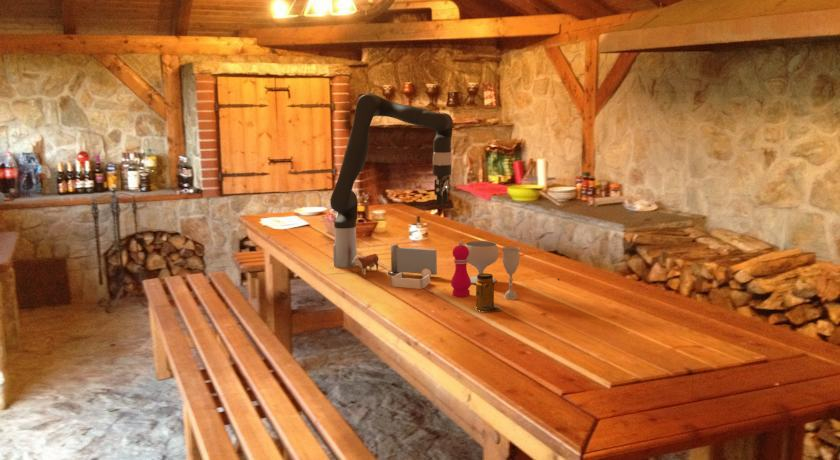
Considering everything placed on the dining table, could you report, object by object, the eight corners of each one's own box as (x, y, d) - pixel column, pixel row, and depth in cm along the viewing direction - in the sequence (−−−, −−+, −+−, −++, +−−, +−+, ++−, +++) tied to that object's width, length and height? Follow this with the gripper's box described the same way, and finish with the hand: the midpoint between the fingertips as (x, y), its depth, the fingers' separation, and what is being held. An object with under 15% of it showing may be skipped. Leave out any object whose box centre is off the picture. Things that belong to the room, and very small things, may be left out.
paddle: (390, 271, 293) (389, 245, 291) (393, 270, 296) (392, 244, 294) (434, 275, 286) (434, 248, 284) (437, 273, 289) (437, 246, 287)
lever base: (385, 274, 292) (385, 273, 292) (391, 271, 298) (391, 269, 298) (399, 276, 290) (399, 274, 290) (404, 272, 296) (404, 270, 296)
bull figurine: (351, 275, 293) (350, 255, 292) (374, 269, 303) (374, 250, 301) (358, 276, 290) (357, 257, 289) (382, 270, 300) (381, 251, 298)
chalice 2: (499, 295, 259) (499, 246, 256) (517, 294, 259) (518, 246, 256) (503, 300, 251) (503, 250, 248) (522, 300, 252) (522, 250, 249)
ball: (419, 279, 284) (419, 269, 284) (423, 276, 288) (423, 267, 287) (429, 279, 283) (429, 270, 282) (432, 277, 287) (432, 267, 286)
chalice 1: (502, 278, 284) (502, 241, 281) (494, 286, 271) (494, 248, 268) (468, 275, 289) (468, 239, 286) (458, 284, 276) (458, 246, 273)
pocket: (391, 286, 274) (391, 277, 273) (400, 280, 282) (400, 272, 281) (422, 288, 269) (421, 279, 269) (430, 283, 277) (430, 274, 277)
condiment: (472, 306, 245) (472, 272, 243) (496, 305, 246) (496, 271, 244) (478, 312, 238) (478, 277, 236) (502, 311, 239) (502, 276, 237)
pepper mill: (469, 298, 256) (469, 243, 252) (449, 297, 257) (449, 242, 254) (472, 292, 263) (472, 239, 259) (452, 292, 264) (452, 239, 261)
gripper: (437, 161, 295) (437, 200, 298) (428, 164, 281) (428, 205, 284) (455, 162, 293) (455, 201, 295) (446, 165, 279) (446, 206, 282)
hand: (442, 203), depth 290 cm, fingers open, 8 cm apart
